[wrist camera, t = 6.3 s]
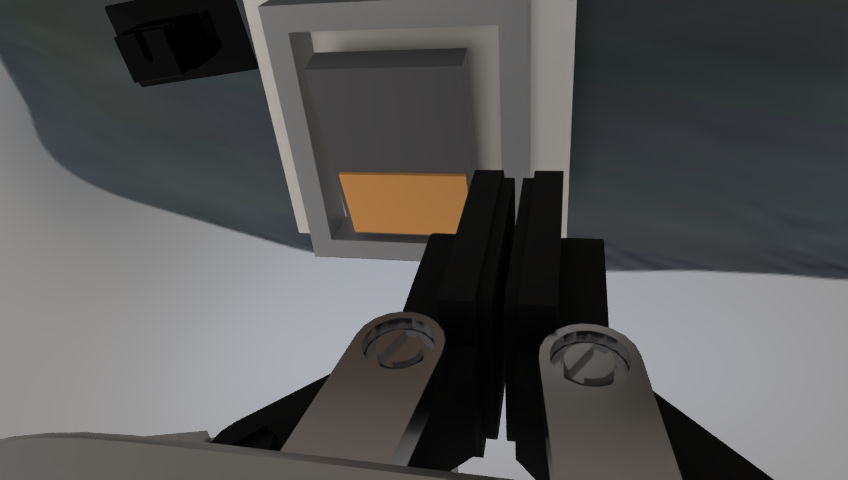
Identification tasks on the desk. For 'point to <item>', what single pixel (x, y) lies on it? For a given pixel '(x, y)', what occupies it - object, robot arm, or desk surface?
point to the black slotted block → (180, 39)
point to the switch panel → (408, 30)
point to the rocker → (397, 136)
